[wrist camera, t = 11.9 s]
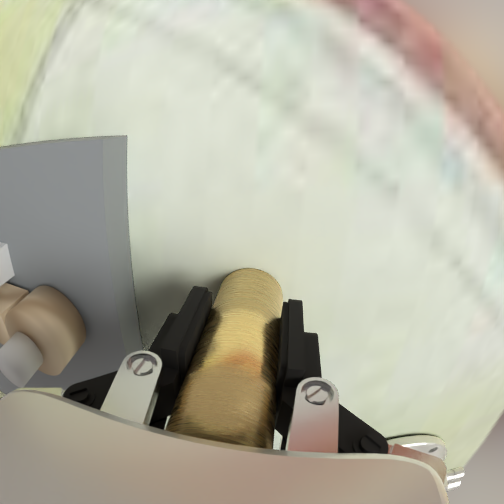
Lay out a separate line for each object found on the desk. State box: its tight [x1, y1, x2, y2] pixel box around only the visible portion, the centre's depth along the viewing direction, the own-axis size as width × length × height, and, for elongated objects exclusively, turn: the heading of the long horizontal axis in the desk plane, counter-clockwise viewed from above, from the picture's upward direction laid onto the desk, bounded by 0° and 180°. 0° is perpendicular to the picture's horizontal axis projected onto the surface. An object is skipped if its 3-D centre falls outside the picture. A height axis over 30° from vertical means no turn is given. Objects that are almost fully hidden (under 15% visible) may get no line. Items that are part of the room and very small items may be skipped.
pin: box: [165, 268, 283, 449], centre depth 10 cm, size 3×3×9 cm
